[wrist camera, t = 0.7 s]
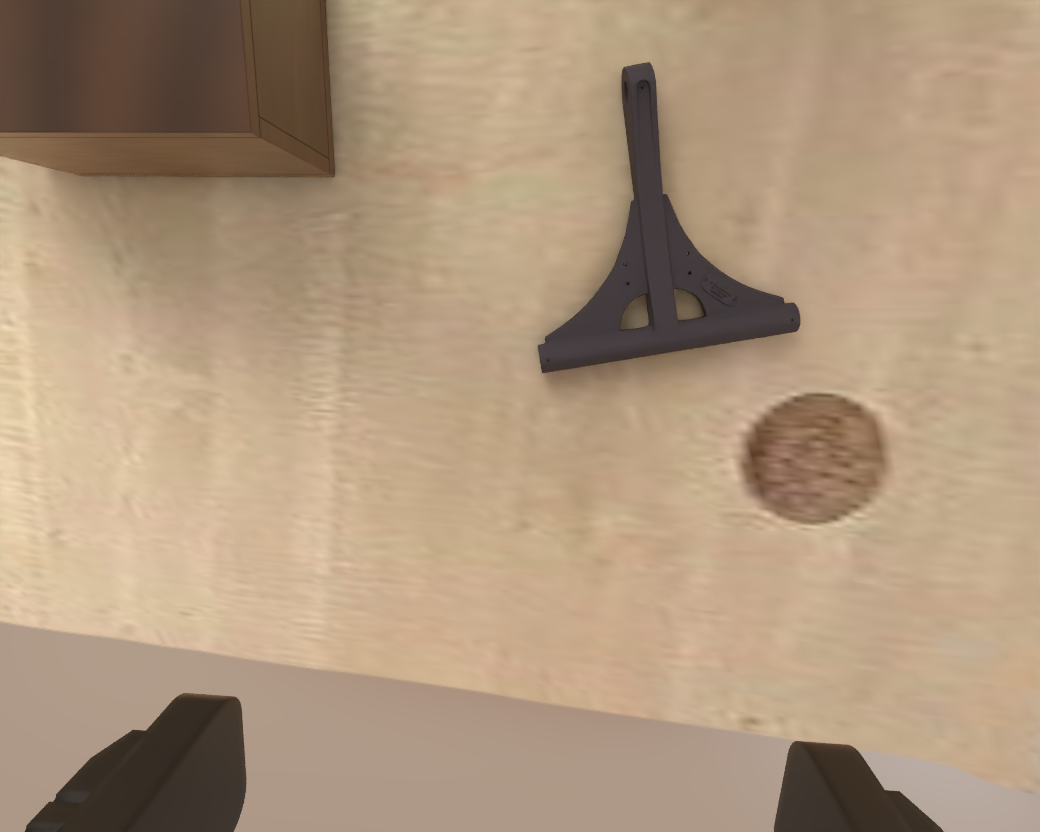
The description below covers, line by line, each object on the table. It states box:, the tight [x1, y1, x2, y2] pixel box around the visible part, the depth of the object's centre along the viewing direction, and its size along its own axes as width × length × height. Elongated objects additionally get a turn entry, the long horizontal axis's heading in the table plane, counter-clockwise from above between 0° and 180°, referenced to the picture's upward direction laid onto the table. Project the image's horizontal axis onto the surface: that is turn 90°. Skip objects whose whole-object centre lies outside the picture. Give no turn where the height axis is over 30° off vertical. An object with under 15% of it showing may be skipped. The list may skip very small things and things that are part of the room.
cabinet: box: [0, 0, 335, 177], centre depth 27 cm, size 15×12×10 cm
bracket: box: [538, 62, 800, 373], centre depth 31 cm, size 14×15×3 cm
